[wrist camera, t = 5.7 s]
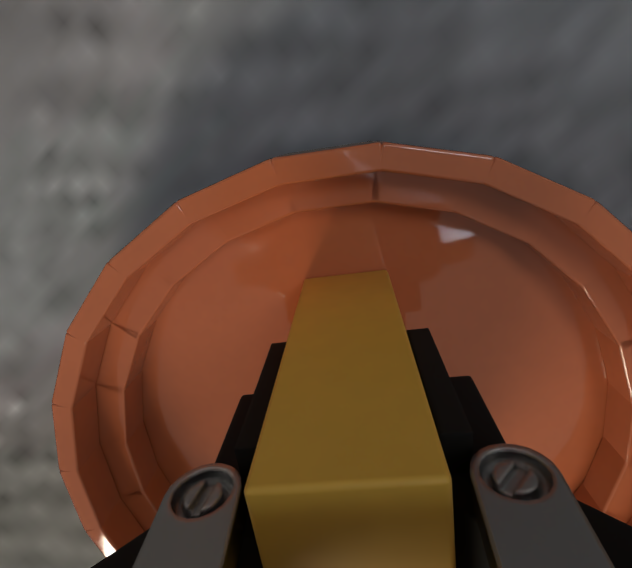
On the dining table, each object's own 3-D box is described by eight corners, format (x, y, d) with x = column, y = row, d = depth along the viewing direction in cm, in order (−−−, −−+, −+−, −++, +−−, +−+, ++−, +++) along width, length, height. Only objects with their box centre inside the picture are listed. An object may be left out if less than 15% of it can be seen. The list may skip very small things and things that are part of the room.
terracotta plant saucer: (33, 190, 13) (-56, 206, 10) (682, 93, 11) (801, 79, 8) (180, 603, 19) (151, 688, 16) (617, 590, 17) (673, 684, 14)
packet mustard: (303, 277, 13) (240, 491, 5) (387, 268, 12) (453, 479, 5) (324, 407, 14) (299, 721, 6) (399, 401, 14) (465, 721, 6)
